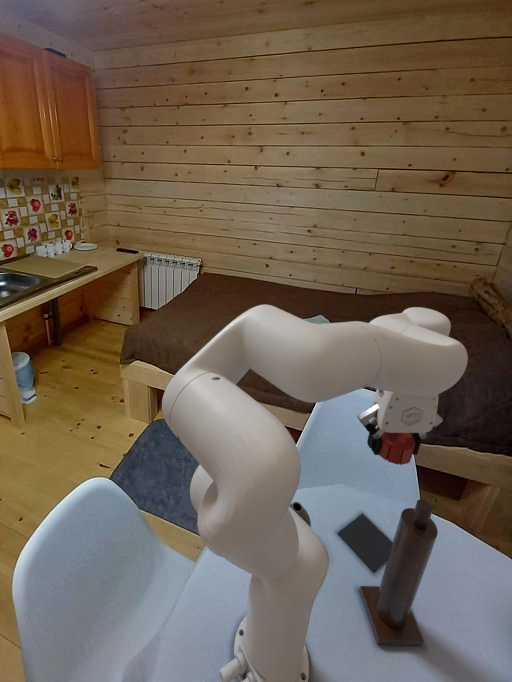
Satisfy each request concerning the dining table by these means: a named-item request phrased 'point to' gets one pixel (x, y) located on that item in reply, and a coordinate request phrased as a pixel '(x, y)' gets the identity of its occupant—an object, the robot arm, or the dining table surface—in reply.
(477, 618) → the dining table surface
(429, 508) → the ring holder
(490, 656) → the dining table surface
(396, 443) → the ring
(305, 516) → the vase
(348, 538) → the felt mat
